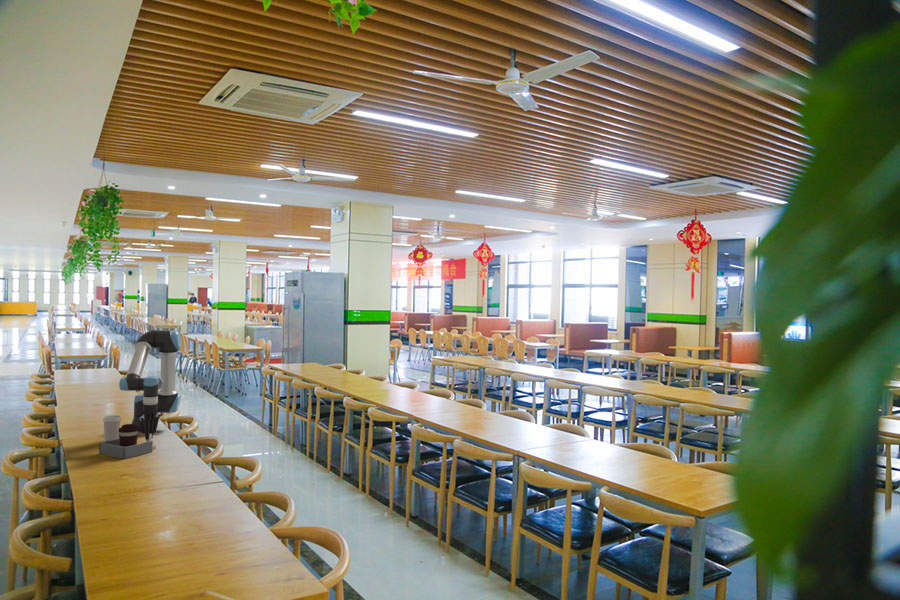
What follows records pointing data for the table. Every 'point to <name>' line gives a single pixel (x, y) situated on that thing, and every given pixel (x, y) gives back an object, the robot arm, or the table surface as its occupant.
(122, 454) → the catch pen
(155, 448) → the board
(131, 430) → the coffee cup
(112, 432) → the coffee cup
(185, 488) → the table surface
